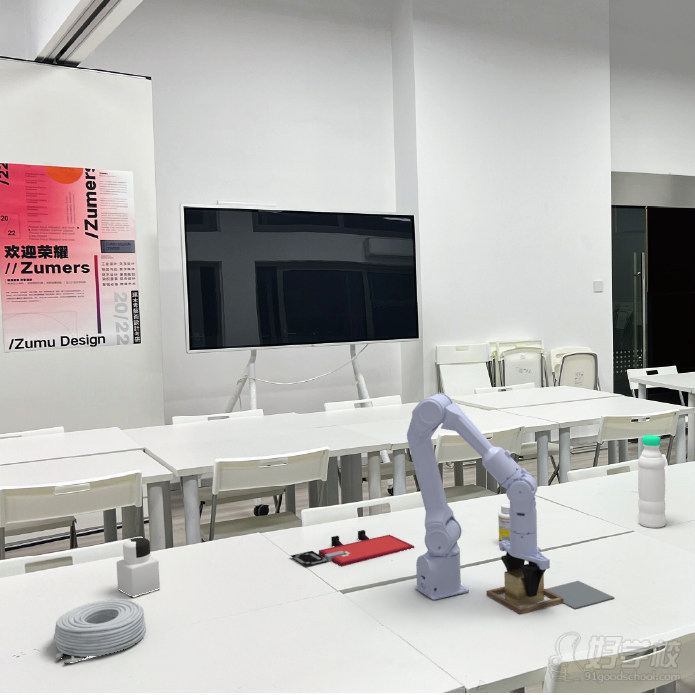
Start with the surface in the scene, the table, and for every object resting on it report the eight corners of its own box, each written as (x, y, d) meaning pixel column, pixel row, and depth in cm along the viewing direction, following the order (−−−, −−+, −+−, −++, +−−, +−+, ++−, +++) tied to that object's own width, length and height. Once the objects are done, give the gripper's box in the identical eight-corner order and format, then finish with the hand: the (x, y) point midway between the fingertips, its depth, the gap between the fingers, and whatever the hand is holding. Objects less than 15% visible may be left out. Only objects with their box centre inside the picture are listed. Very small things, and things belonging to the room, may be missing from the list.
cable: (56, 670, 141) (54, 638, 140) (52, 633, 157) (50, 604, 156) (152, 650, 148) (150, 619, 147) (139, 616, 164) (137, 588, 163)
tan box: (518, 606, 161) (517, 578, 161) (504, 598, 165) (504, 571, 165) (544, 599, 164) (543, 572, 164) (530, 592, 168) (530, 565, 168)
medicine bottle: (144, 582, 183) (142, 533, 182) (160, 589, 178) (157, 539, 177) (117, 591, 178) (114, 540, 177) (132, 599, 173) (129, 547, 172)
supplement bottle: (516, 539, 205) (515, 501, 204) (523, 545, 199) (522, 507, 198) (496, 540, 204) (495, 503, 203) (502, 547, 198) (501, 508, 198)
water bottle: (667, 522, 214) (667, 434, 212) (663, 529, 208) (662, 439, 206) (641, 519, 218) (640, 433, 216) (635, 526, 212) (635, 437, 210)
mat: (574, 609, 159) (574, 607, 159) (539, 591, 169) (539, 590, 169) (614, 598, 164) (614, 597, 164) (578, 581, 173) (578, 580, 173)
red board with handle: (286, 557, 197) (315, 575, 185) (286, 546, 197) (315, 563, 184) (381, 535, 213) (414, 551, 200) (381, 526, 213) (414, 540, 200)
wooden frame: (520, 614, 157) (519, 609, 157) (486, 595, 168) (486, 590, 168) (563, 602, 162) (563, 598, 162) (528, 584, 173) (528, 580, 173)
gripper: (560, 536, 159) (561, 599, 160) (516, 518, 172) (517, 577, 173) (533, 542, 156) (535, 606, 157) (491, 523, 169) (492, 583, 170)
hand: (524, 591), depth 165 cm, fingers closed on tan box, 4 cm apart
